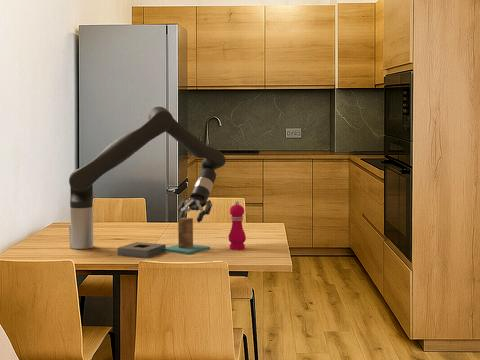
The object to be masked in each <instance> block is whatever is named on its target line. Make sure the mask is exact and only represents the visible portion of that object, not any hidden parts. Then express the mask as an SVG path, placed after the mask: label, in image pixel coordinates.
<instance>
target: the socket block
mask: <svg viewBox="0 0 480 360" xmlns="http://www.w3.org/2000/svg"><path fill="white" fill-rule="evenodd" d="M166 245H167V244H162V243H152V242H151V243H150V242H141V241H140V242H139V241H137V242H136V241H135V242H133V243H129V244H125V245H123V246H120V247H117V256H120V255H121V257H123V256H124V257H131V256H132V258H133V257H134V258H144V259H149V258H152V257H155V256H157V255H160V254H164V253H166V252H167V251H166V247H167V246H166Z"/></svg>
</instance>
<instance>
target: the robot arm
mask: <svg viewBox="0 0 480 360" xmlns="http://www.w3.org/2000/svg"><path fill="white" fill-rule="evenodd" d="M164 133H166V134H168V135H170V136H171V137H172V138H174V140H175V141H176V142H178V144H179V145H181V146H182V147H183V148H184V149H185V150H186V151H187V152H189V153H190V154H192V155H193V156H194V157H195V158H197V159H202V162H201V168H200V173H199V176H198V177H197V180H196V182H194V183H195V184H194V186H193V189H192V190H191V193H190V197H189V199H188V200H187V199H185V198H182V199H181V201H180V203H179V204H178V207H177V211H178V212H179V214H178V216H177V217H178V219H181V218H185V215H186V214H187V213H190V212H191V211H197V212H198V211H200V212H199V214H197V218H196V221H197V223H201V222H202V221H203V219H204V216H208V215H210V213H211V210H212V207H213V202H212V201H211V200H210V199H209V197H210V195H211V192H212V190H213V186H214V183H215V181H216V178H217V173H216V170H217V169H220V168H222V167H224V165H225V164H226V157H225V155H224V153H223V152H221V151H220V150H219V149H217V148H214V147H212V146H210V145H207V144H206V143H205V142H203V141H202V140H201V139H200V138H198V137H197V136H196V135H195V134H193V133H192V132H190V131H189V130H188V129H186V128H185V127H184V126H183V125H181V124H180V123H179V122H178V121H177V120H176V119H175V118H174V117H173V115H172V113H171V112H170V111H169V110H168V109H167V108H166V107H162V106H155V107H152V108H151V109H150V111H149V113H148V121H145V123H144V124H142V125H141V126H140V127H138V128H136V129H134V130H131V131H129V132H127V133H124V134H123V135H121V136H119V137H118V138H116V139H114V141H112V142H111V143H110V144H108V145H107V146H106V147H105V148H103V150H101V152H100V153H99V154H98V155H97V156H95V158H94V159H92V160H91V161H89V162H88V163H87V164H85V165H83V166H81V168H77V169H75V170H73V171H72V172H71V174H70V175H69V178H68V183H69V187H70V189H69V190H70V191H69V192H70V195H69V196H70V198H69V199H70V200H69V204H70V205H69V207H70V209H69V210H70V211H69V212H70V224H69V226H68V228H69V229H68V232H69V233H68V234H69V237H68V238H69V248H71V249H74V250H84V249H85V250H86V249H87V250H88V249H92V248H94V246H95V245H94V214H93V213H94V210H93V207H94V204H93V201H94V194H93V192H94V191H93V188H94V187H93V184H94V183H95V182H96V181H97V180H98V179H100V178H101V177H102V176H103V175H104V174H106V173H108V172H109V171H111V170H113V169H114V168H116V167H118V166H119V165H121V164H122V163H124V162H125V161H126V160H128V159H129V158H131V156H133V155H134V154H135V153H137V152H138V151H140V150H141V148H144V146H145V145H147V144H148V143H150V142H151V141H152V140H153V139H155V138H157V137H158V136H160V135H163V134H164ZM204 207H205V209H204Z"/></svg>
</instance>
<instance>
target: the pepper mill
mask: <svg viewBox="0 0 480 360" xmlns="http://www.w3.org/2000/svg"><path fill="white" fill-rule="evenodd" d="M229 214H230V215H231V216H230V220H231V222H232V223H231V229H230V232H229V234H228V241H229V249H230V250H231V251H232V250H234V251H242V250H244V249H246V248H245V241H246V240H247V237H246V233H245V230H244V228H243V220H244V214H245V208H244V207H243V205H240V201H239V200H236V201H235V202H234V205H232V206H231V207H230V208H229Z"/></svg>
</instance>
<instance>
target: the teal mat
mask: <svg viewBox="0 0 480 360" xmlns="http://www.w3.org/2000/svg"><path fill="white" fill-rule="evenodd" d="M210 249H211V247H210V246H208V245H201V244H200V245H199V244H193V247H192V248H189V249H185V248H179V244H174V245H171V246H166V252H169V253H176V254H184V255H192V254H195V253H199V252H204V251H207V250H210Z"/></svg>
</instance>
